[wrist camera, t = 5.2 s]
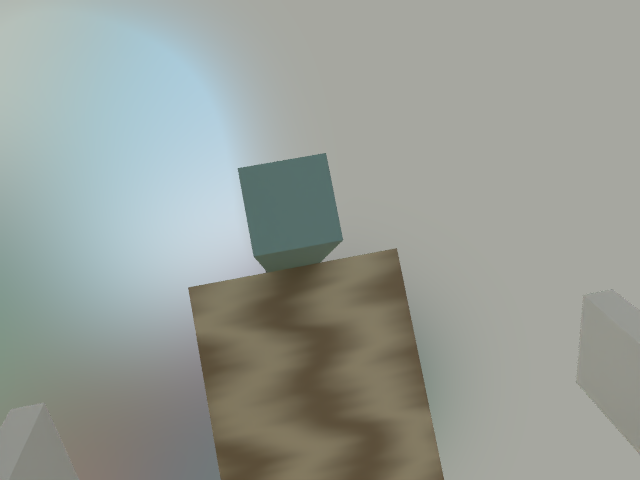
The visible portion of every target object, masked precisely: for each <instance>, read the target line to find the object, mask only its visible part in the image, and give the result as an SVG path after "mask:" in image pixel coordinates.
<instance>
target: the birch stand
mask: <svg viewBox="0 0 640 480" xmlns="http://www.w3.org/2000/svg"><path fill="white" fill-rule="evenodd" d="M188 289H189V295H190V301H191V306H192V312H193V318H194V324H195V330H196V336H197V342H198V348H199V354H200V360H201V366H202V371H203V377H204V383H205V389H206V395H207V401H208V407H209V413H210V418H211V425H212V430H213V436H214V442H215V448H216V453H217V460H218V466H219V472H220V477H221V480H444V477H443V472H442V468H441V462H440V458H439V453H438V448H437V443H436V439H435V433H434V428H433V423H432V418H431V413H430V409H429V404H428V399H427V394H426V389H425V384H424V379H423V374H422V369H421V365H420V360H419V355H418V350H417V345H416V340H415V335H414V331H413V325H412V321H411V316H410V311H409V306H408V301H407V296H406V291H405V286H404V281H403V276H402V272H401V267H400V262H399V257H398V252H397V248H396V249H391V250H385V251H380V252H375V253H370V254H364V255H359V256H353V257H348V258H343V259H337V260H332V261H327V262H322V263H316V264H311V265H305V266H300V267H295V268H290V269H284V270H279V271H274V272H268V273H263V274H258V275H253V276H247V277H242V278H237V279H232V280H226V281H221V282H216V283H210V284H205V285H199V286H194V287H189V288H188Z"/></svg>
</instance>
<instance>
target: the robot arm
mask: <svg viewBox="0 0 640 480" xmlns="http://www.w3.org/2000/svg"><path fill="white" fill-rule="evenodd" d="M576 383H577V384H578V385H579V386H580V387H581V388H582V390H583V391H584V392H585V393H586V394H587V395H588V396H589V398H590V399H591V400H592V401H593V402H594V403H595V404H596V405H597V407H598V408H599V409H600V410H601V411H602V412H603V413H604V414H605V416H606V417H607V418H608V419H609V420H610V421H611V422H612V424H613V425H614V426H615V427H616V428H617V429H618V430H619V431H620V433H621V434H622V435H623V436H624V437H625V438H626V439H627V441H628V442H629V443H630V444H631V445H632V446H633V447H634V448H635V450H636V451H637V452H638V453H639V454H640V310H638V309H637V308H636V307H634V306H633V305H632V304H631V303H629V302H628V301H627V300H626V299H624V298H623V297H622V296H620V295H619V294H618V293H616V292H615V291H614V290H612V289H611V290H606V291H601V292H596V293H591V294H587V295H584V296H583V306H582V319H581V330H580V342H579V356H578V367H577V380H576ZM0 480H79V478H78V476H77V474H76V472H75V469H74V467H73V465H72V463H71V460H70V458H69V456H68V454H67V451H66V449H65V447H64V445H63V443H62V440H61V438H60V436H59V434H58V431H57V429H56V427H55V425H54V423H53V420H52V418H51V416H50V414H49V411H48V409H47V407H46V405H45V403H40V404H35V405H30V406H25V407H20V408H15V409H11V410H10V411H9V413H8V415H7V417H6V419H5V421H4V422H3V425H2V426H1V428H0Z"/></svg>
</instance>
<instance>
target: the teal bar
mask: <svg viewBox="0 0 640 480" xmlns="http://www.w3.org/2000/svg"><path fill="white" fill-rule="evenodd" d="M238 172H239V178H240V183H241V189H242V194H243V200H244V205H245V211H246V216H247V222H248V227H249V233H250V238H251V244H252V249H253V254H254V257H255V259H256V260H257V261H258V262H259V263H260V264H261V265H262V266H263V268H264V269H265V270H266V273H268V272H274V271H279V270H284V269H290V268H295V267H300V266H305V265H311V264H316V263H320V262H321V261H322V260H323V259H324V258H325V257H326V256H327V255H328V254H329V253H330V252H331V251H332V250H333V249H334V248H335V247H336V246H337V245H338V244H339V243H340V242H342V240H343V238H342V232H341V227H340V223H339V217H338V212H337V207H336V202H335V197H334V192H333V187H332V181H331V176H330V171H329V166H328V161H327V156H326V153H324V154H318V155H312V156H307V157H300V158H295V159H289V160H283V161H277V162H272V163H266V164H261V165H254V166H249V167H243V168H238Z"/></svg>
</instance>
